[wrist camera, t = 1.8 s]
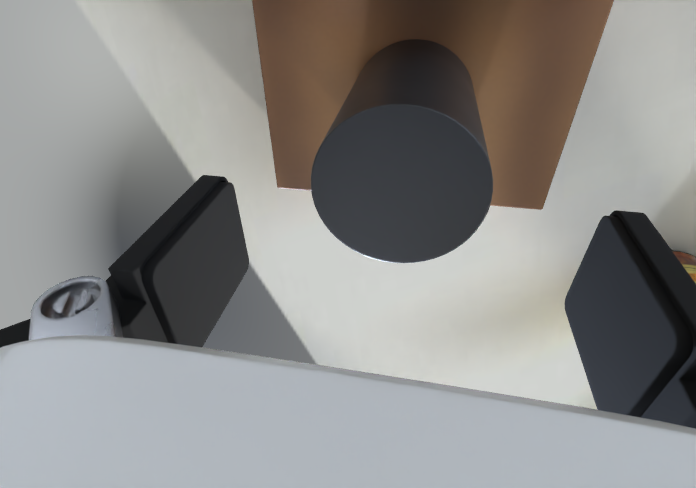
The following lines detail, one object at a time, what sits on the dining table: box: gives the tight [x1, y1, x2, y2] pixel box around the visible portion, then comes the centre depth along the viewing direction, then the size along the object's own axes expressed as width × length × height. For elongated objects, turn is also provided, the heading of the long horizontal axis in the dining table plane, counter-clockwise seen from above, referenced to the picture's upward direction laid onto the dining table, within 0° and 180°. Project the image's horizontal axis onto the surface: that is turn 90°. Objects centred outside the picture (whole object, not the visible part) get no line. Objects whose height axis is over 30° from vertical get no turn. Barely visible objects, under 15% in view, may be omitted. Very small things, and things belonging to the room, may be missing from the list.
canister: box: [311, 39, 493, 263], centre depth 15 cm, size 5×5×8 cm
